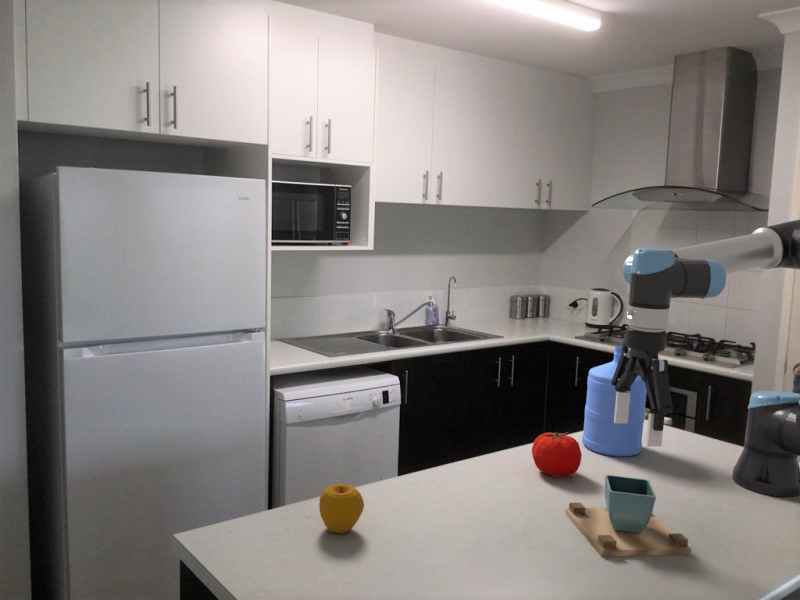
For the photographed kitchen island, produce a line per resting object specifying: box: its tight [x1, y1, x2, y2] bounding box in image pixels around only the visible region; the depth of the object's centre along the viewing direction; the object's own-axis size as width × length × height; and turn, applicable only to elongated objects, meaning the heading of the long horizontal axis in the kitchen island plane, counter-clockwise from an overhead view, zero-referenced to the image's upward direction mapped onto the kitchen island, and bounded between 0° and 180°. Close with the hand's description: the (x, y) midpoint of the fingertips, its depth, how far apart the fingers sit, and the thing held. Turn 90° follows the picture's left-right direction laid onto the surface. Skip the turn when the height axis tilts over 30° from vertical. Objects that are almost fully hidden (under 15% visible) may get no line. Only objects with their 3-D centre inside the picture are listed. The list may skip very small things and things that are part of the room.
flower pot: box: [604, 474, 657, 533], centre depth 140 cm, size 9×9×9 cm
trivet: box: [565, 502, 692, 558], centre depth 141 cm, size 18×18×3 cm
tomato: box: [531, 431, 583, 478], centre depth 170 cm, size 12×12×10 cm
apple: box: [318, 483, 365, 535], centre depth 135 cm, size 8×8×9 cm
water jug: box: [581, 345, 648, 458], centre depth 190 cm, size 16×16×28 cm
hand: (636, 433), depth 138 cm, fingers open, 13 cm apart
